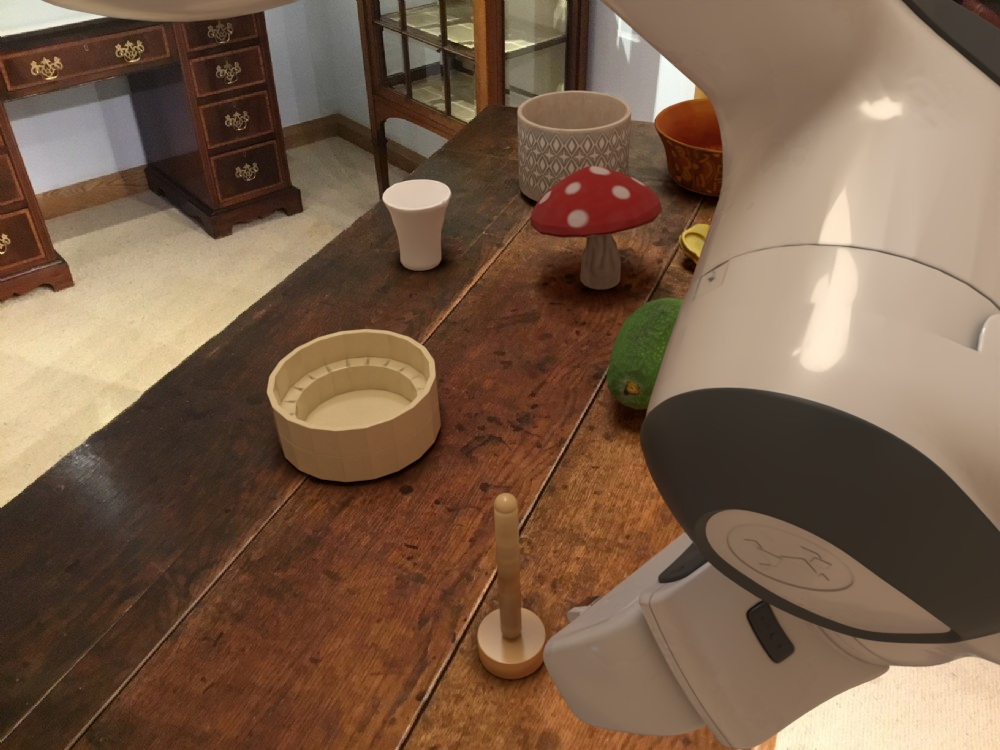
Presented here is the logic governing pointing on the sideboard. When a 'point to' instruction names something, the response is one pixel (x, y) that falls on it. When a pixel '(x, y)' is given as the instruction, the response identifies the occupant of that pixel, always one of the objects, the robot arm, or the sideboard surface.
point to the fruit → (641, 351)
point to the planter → (570, 137)
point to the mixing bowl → (355, 404)
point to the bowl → (692, 145)
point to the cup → (418, 220)
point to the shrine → (693, 241)
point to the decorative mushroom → (596, 217)
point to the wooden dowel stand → (510, 606)
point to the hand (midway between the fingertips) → (644, 570)
